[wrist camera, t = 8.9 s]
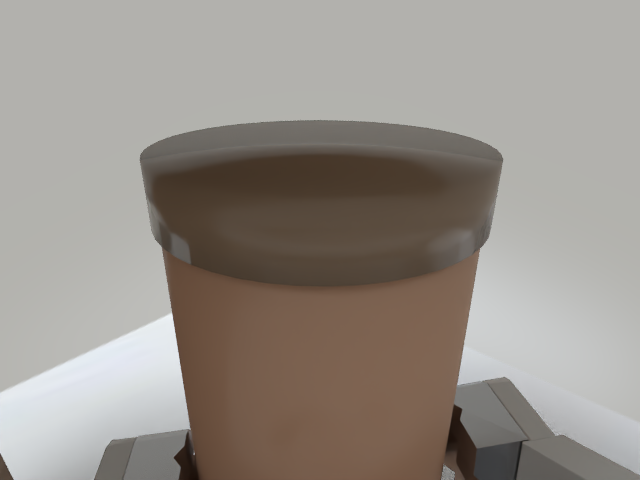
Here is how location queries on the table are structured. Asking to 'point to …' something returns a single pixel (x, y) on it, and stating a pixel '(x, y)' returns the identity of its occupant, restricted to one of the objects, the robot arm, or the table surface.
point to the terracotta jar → (320, 291)
